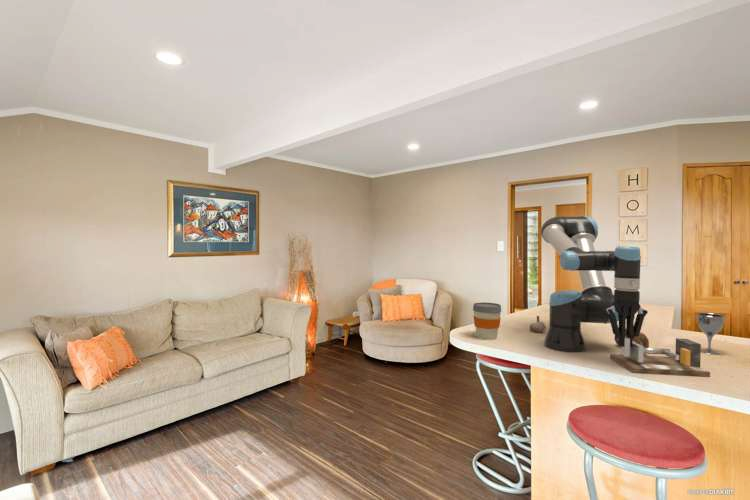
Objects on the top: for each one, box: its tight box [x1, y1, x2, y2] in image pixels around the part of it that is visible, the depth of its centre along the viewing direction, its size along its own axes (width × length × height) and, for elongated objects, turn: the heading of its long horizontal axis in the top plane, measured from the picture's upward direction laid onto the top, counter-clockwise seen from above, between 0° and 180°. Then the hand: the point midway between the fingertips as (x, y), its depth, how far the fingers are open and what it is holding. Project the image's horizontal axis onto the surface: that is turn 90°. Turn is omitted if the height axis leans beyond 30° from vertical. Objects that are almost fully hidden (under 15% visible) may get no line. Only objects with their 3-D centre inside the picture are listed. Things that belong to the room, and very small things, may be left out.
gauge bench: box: [609, 337, 711, 378], centre depth 130 cm, size 23×16×10 cm
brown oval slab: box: [614, 332, 650, 349], centre depth 150 cm, size 15×3×8 cm, turn 6°
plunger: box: [630, 341, 679, 362], centre depth 129 cm, size 12×11×6 cm
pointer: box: [680, 348, 690, 366], centre depth 124 cm, size 1×3×5 cm, turn 171°
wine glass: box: [696, 312, 725, 356], centre depth 148 cm, size 8×8×15 cm
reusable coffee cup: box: [472, 302, 502, 340], centre depth 170 cm, size 13×13×15 cm
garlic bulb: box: [529, 315, 547, 334], centre depth 181 cm, size 8×7×8 cm
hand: (625, 355), depth 132 cm, fingers closed
